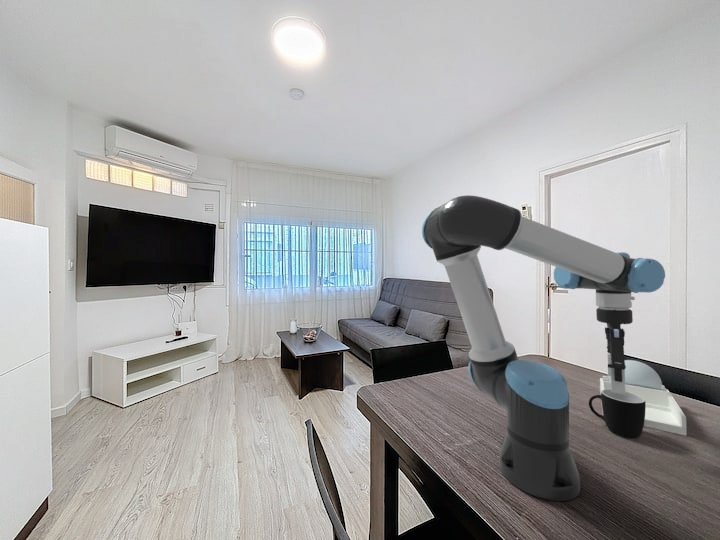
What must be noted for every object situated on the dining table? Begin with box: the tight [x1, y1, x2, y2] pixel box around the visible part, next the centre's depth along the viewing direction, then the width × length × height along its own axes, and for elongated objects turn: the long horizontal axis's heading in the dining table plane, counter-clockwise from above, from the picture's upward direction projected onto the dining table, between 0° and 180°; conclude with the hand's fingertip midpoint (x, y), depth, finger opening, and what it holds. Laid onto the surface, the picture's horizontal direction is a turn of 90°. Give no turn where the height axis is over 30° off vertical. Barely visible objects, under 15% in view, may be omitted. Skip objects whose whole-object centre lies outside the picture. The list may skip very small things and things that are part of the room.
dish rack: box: [599, 375, 687, 437], centre depth 91 cm, size 22×17×6 cm
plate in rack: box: [607, 359, 663, 390], centre depth 96 cm, size 1×13×13 cm, turn 52°
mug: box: [588, 389, 646, 440], centre depth 80 cm, size 12×9×10 cm
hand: (616, 384), depth 80 cm, fingers open, 13 cm apart
